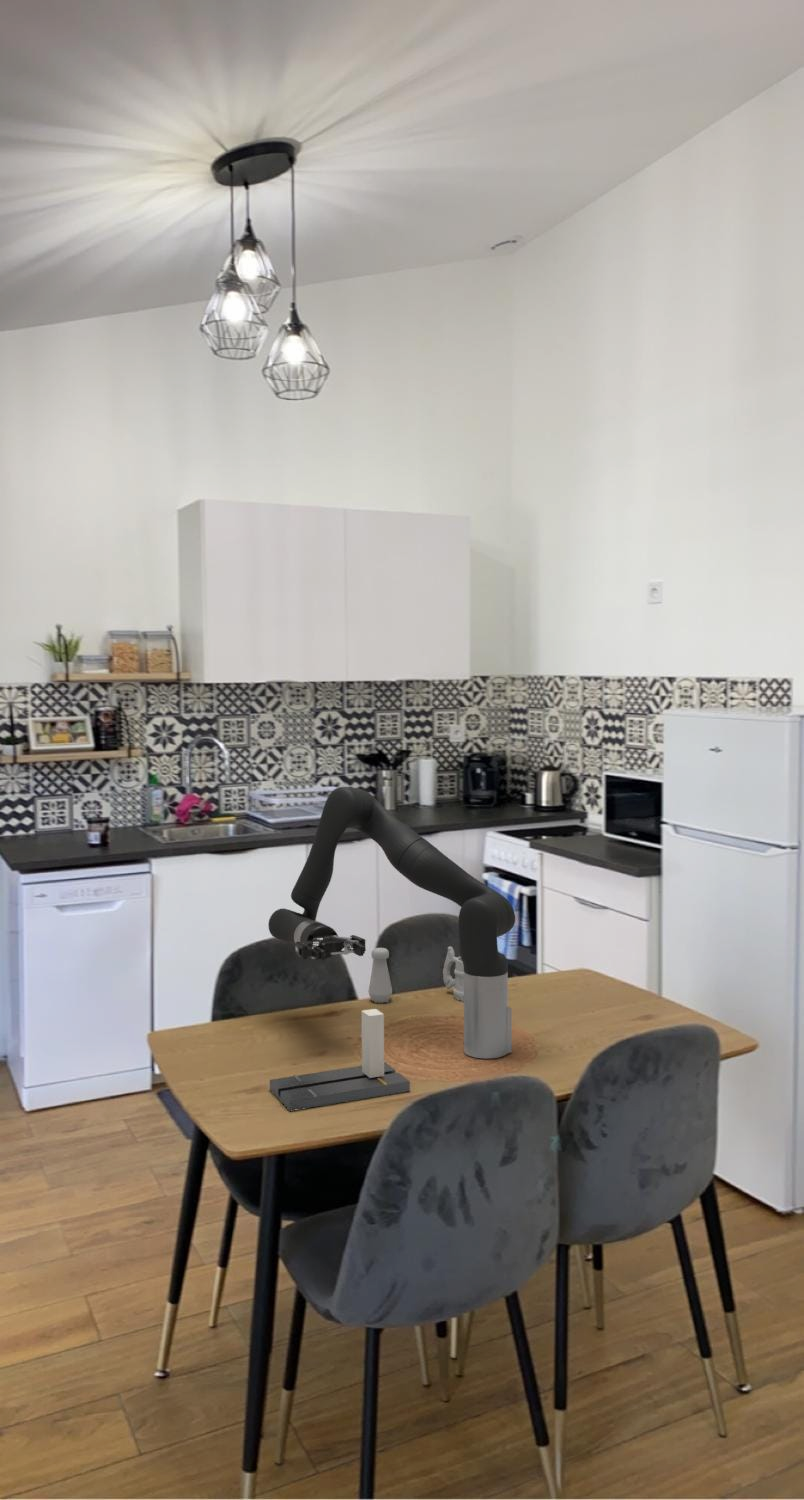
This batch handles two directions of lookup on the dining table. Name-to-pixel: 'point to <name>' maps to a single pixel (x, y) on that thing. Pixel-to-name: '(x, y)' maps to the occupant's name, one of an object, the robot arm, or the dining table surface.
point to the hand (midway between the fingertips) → (342, 953)
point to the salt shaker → (380, 977)
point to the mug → (458, 974)
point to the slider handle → (372, 1043)
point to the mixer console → (336, 1087)
